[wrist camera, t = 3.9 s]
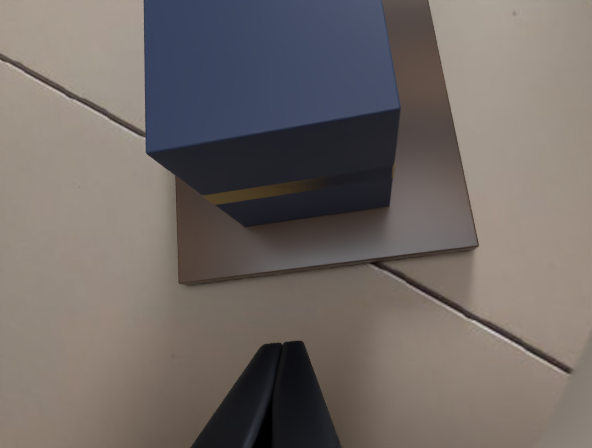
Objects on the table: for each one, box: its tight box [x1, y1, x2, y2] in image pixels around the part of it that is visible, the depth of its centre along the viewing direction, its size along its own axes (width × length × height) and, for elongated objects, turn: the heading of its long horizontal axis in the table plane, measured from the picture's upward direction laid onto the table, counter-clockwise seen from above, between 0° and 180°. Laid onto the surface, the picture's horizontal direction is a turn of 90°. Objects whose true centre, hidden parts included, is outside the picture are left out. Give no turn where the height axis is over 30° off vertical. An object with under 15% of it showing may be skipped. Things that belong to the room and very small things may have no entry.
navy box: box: [144, 0, 401, 227], centre depth 15 cm, size 10×6×8 cm, turn 5°
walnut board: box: [175, 0, 479, 285], centre depth 20 cm, size 22×12×1 cm, turn 5°
